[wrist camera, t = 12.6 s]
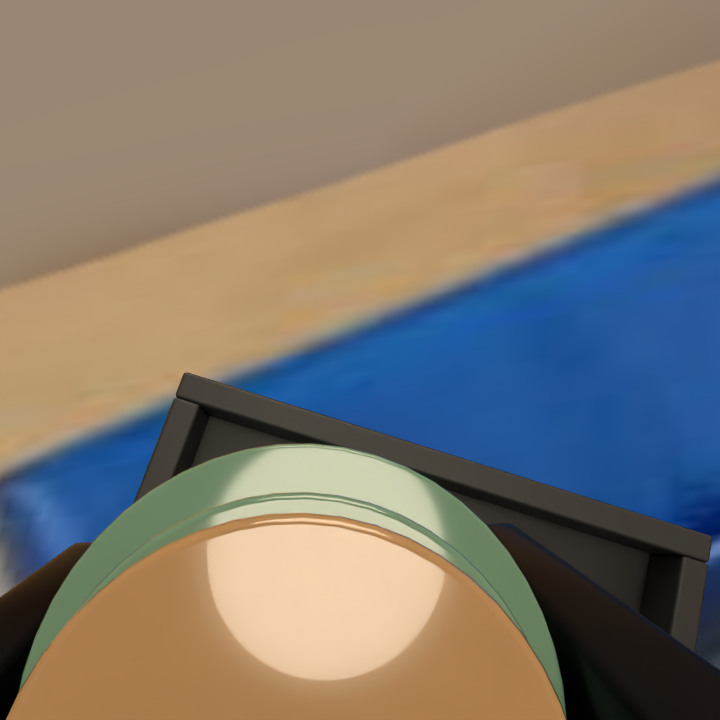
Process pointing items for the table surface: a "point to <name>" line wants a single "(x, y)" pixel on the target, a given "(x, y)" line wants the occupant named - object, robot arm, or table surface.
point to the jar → (294, 603)
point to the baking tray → (461, 497)
